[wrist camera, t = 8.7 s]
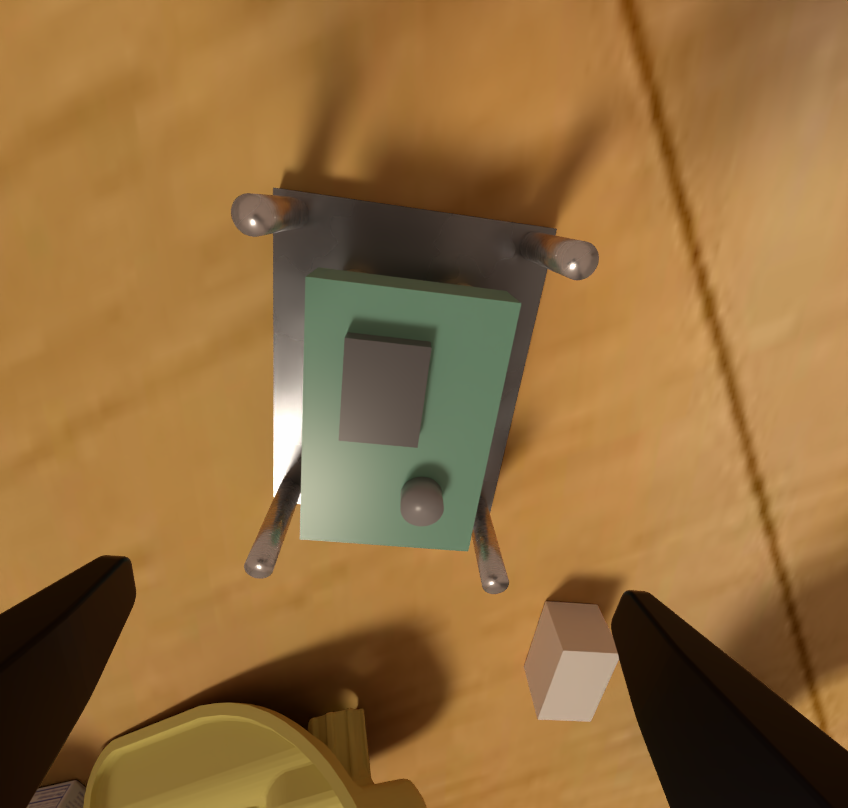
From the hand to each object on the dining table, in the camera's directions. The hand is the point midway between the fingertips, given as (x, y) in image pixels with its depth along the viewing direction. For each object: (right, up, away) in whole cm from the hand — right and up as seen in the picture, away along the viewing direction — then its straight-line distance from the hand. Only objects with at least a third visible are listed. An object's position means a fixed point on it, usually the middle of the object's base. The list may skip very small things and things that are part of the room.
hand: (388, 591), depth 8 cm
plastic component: (-9, -19, +21) cm, 30 cm away
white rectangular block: (+8, -10, +18) cm, 22 cm away
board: (0, +3, +8) cm, 8 cm away
